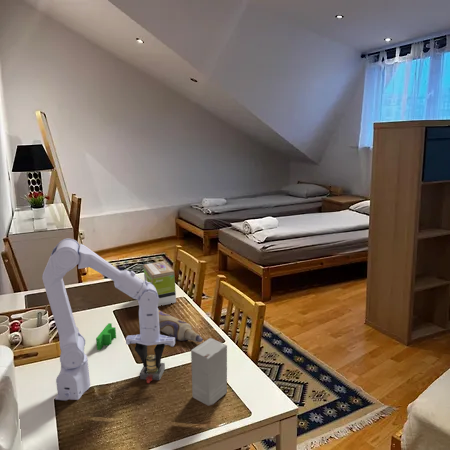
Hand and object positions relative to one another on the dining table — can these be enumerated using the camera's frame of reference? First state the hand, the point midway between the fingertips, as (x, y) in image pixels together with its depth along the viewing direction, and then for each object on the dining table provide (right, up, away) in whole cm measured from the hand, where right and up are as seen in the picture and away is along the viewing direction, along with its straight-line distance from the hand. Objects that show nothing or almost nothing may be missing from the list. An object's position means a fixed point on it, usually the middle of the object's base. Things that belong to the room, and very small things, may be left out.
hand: (152, 365), depth 127 cm
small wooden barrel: (0, -2, +1) cm, 3 cm away
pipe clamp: (-19, +1, +21) cm, 29 cm away
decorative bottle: (+3, +2, +25) cm, 25 cm away
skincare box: (+18, -6, -10) cm, 21 cm away
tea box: (-6, +10, +57) cm, 58 cm away
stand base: (0, -3, +1) cm, 3 cm away
